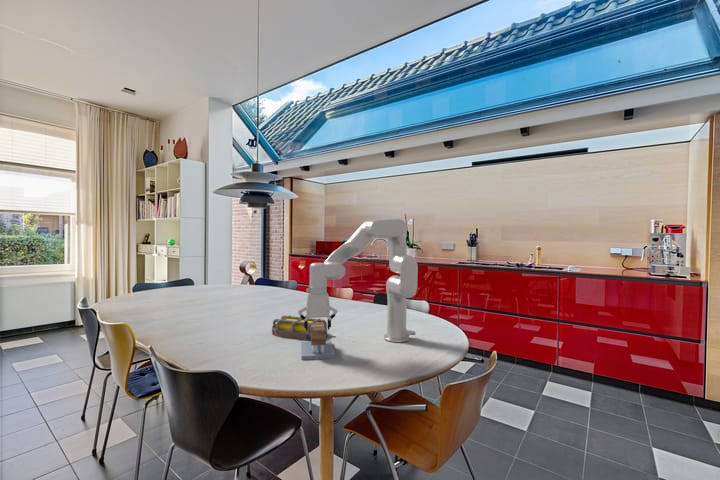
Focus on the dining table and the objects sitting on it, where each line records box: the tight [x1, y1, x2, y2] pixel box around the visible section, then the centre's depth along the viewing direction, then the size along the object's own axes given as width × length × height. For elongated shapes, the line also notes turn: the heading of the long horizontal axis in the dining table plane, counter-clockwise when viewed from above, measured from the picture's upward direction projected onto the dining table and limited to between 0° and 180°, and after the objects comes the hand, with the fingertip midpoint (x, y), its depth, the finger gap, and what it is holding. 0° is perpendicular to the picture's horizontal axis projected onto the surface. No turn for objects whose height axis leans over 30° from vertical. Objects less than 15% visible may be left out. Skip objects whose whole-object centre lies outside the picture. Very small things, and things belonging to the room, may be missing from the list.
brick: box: [311, 322, 327, 345], centre depth 145 cm, size 16×6×5 cm, turn 9°
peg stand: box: [300, 340, 336, 361], centre depth 145 cm, size 14×18×6 cm
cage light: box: [271, 314, 328, 342], centre depth 170 cm, size 15×8×30 cm
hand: (317, 329), depth 145 cm, fingers open, 9 cm apart
